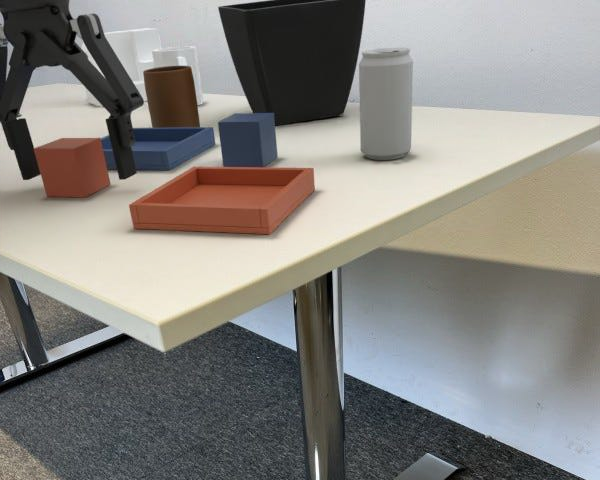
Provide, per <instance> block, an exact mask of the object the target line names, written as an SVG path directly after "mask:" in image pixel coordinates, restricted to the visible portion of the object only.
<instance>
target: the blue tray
mask: <svg viewBox="0 0 600 480" xmlns="http://www.w3.org/2000/svg"><path fill="white" fill-rule="evenodd" d="M133 131H134V136H135V145H133V146H131V149H132V153H133V158H134V162H135V167H136V171H137V170H139V171H141V170H142V171H171V170H172V169H174V168H177V167H178V166H180V165H181V164H183V163H185V162H186V161H189V160H190V159H192V158H193V157H195V156H197V155H199V154H201V153H202V152H204V151H206V150H208V149H209V148H211V147H213V146H215V145H216V138H215V136H216V135H215V129H214V127H213V126H200V127H163V128H152V127H133ZM99 138H100V139H101V144H102V148H103V153H104V157H105V162H106V166H107V170H117V167H116V163H115V158H114V154H113V150H112V146H111V141H110V137H109V134H108V135H105V136H103V137H99Z"/></svg>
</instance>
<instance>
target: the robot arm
mask: <svg viewBox="0 0 600 480" xmlns="http://www.w3.org/2000/svg"><path fill="white" fill-rule="evenodd" d="M70 1H71V0H0V14H1V15H2V19H3V24H2V23H0V124H1V127H2V130H3V134H4V136H5V140H6V143H7V146H8V148H9V149H10V151H13V152H14V157H15V159H16V162H17V165H18V169H19V171H20V175H21V178H22V181H29V180H32V179H34V178H36V177H39V176H41V174H40V170H39V166H38V163H37V159H36V156H35V152H34V148H35V146H34V143H33V139H32V136H31V132H30V129H29V125H28V123H27V119H26V117H25V118H24V117H23V118H20V117H22V116H23V114H21V113H20V111H21V108H22V105H23V102H24V100H25V97H26V94H27V90H28V89H29V85H30V82H31V78H32V75H33V73H34V71H35V70H36V69H37V68H43V67H49V68H51V67H52V68H53V67H59V66H61V67H62V68H64V69H65V70H67V71H70V73H71V74H72V75H73V76H74V77H75V78H76V80H78V81H79V82H80V83H81V85H83V86H84V88H85V87H86V88H87V90H88V91H89V92H90V93H91V94H92V95H93V96H94V97H95V98H96V99H97V100H98V101H99V102H100V103H101V105H102V106H101V107H103V108H104V109H105V110H106V111H107V112H108V113H109V116H108V117H107V118H105V124H106V126H107V127H106V129H107V132H108V135H109V137H110V141H111V146H112V150H113V154H114V158H115V163H116V167H117V169H116V171H117V175H118V180H121V181H122V180H127V179H130V178H131V177H132V176H135V175H136V174H138V171H137V170H136V167H135V162H134V158H133V153H132V149H131V146H133V145H135V136H134V131H133V128H134V127H133V121H132V118H131V117H132V113H133V112H134V111H135V110H137V109H139V108H141V107H143V106H144V104H145V101H144V100H143V98H142V96H141V94H140V93H139V91H138V90H137V88H136V86H135V85H134V83H133V81H132V80H131V78H130V77H129V75H128V73H127V72H126V70H125V68H124V67H123V65H122V63H121V62H120V60H119V59H118V57H117V55H116V54H115V52H114V50H113V49H112V47H111V46H110V44H109V42H108V41H107V39H106V37H105V35H104V33H105V32H104V29H103V25H102V22H101V18H100V17H99V14H96V13H87V14H79V15H78V16H77V18H74V17H73V15H72V13H71V12H70ZM77 37H78V38H79V39H81V40H82V42H83V43H84V44H85V46H86V48H87V49H88V51H89V53H90V54H91V56H92V57H93V59H94V61H95V62H96V64H97V65H98V67H99V69H100V70H101V72H102V73H103V75H104V76H103V75H102V74H101V73H100V72H99V71H98V70H97V69H96V68H95V66H94V65H93V64H92V63H91V62H90V61H89V60H88V56H87V54H86V53H85V52H84V51H83V50H82V49H81V47H80V45H79V44H78V43H77V42H76V39H77ZM9 44H10V45H11V46H12V48H13V49H12V51H11V55H10V58H9V61H8V55H9V53H8V52H9V50H8V49H9V48H8V45H9ZM8 66H9V70H8ZM7 71H8V73H7Z"/></svg>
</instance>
